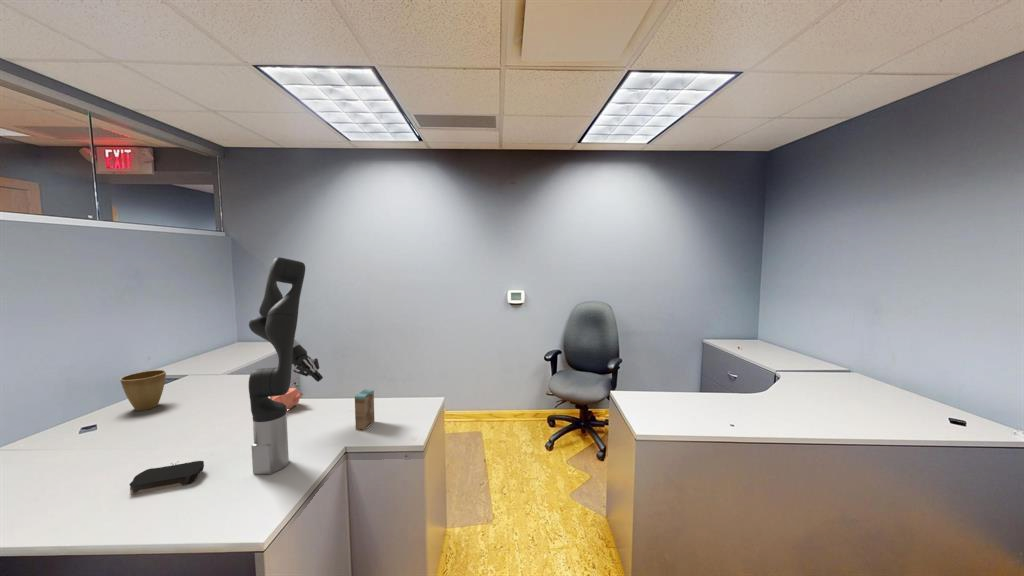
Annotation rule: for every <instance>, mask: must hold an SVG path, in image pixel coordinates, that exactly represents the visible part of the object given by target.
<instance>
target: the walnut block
mask: <svg viewBox="0 0 1024 576" xmlns="http://www.w3.org/2000/svg"><path fill="white" fill-rule="evenodd" d="M374 391H375V389H363V390H362V391H360V392H359V393H358V394H356V395H354V414H355V415H354V416H355V417H354V418H355V422H354V423H355V430H356V429H363V430H362V431H366V430H367V429H368V428H369V427H370V426H371V425H373V423H375V422H374V421H375V393H374ZM370 424H371V425H370ZM369 425H370V426H369ZM368 426H369V427H368ZM367 427H368V428H367ZM366 428H367V429H366ZM365 429H366V430H365Z"/></svg>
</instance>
